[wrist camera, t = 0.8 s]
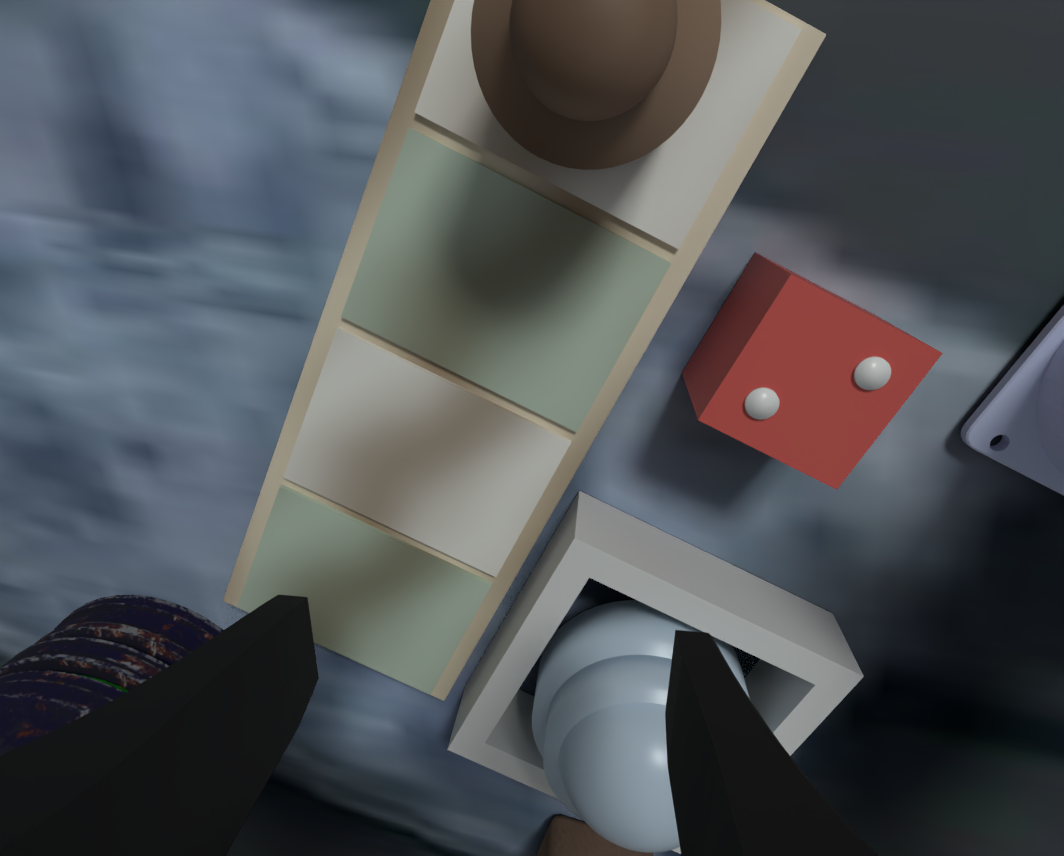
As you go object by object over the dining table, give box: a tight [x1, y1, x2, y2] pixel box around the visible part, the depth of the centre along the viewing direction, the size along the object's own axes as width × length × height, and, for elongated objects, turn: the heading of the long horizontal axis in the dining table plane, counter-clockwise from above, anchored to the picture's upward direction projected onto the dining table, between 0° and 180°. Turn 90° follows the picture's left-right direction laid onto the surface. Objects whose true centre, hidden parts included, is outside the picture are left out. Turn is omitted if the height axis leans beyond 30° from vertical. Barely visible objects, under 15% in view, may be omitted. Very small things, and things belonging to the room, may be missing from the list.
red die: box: [682, 253, 942, 489], centre depth 17 cm, size 4×4×4 cm
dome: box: [532, 600, 750, 853], centre depth 20 cm, size 7×7×5 cm
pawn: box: [471, 0, 721, 170], centre depth 13 cm, size 4×4×7 cm
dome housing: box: [447, 491, 864, 854], centre depth 23 cm, size 10×10×3 cm
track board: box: [223, 0, 826, 701], centre depth 20 cm, size 9×24×1 cm, turn 154°
